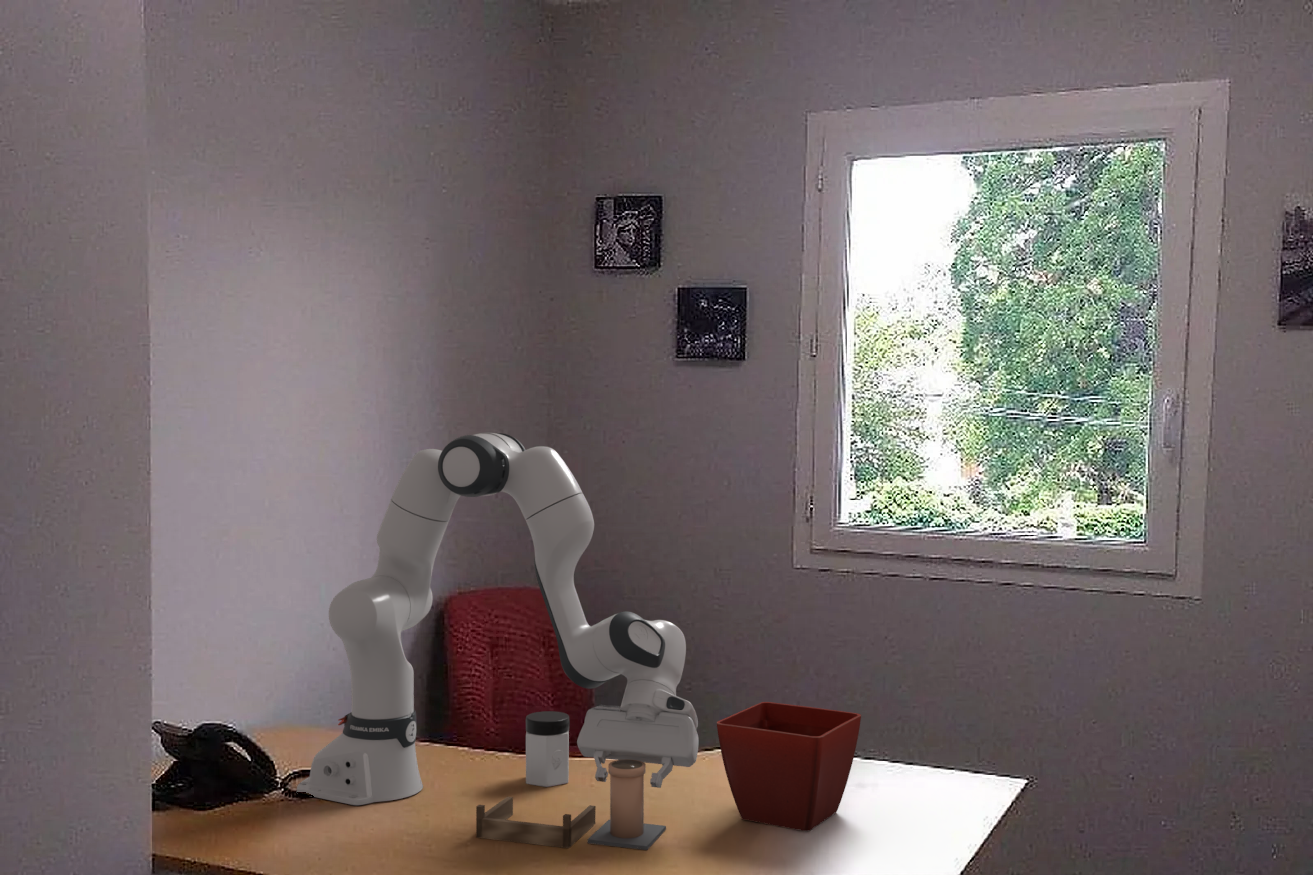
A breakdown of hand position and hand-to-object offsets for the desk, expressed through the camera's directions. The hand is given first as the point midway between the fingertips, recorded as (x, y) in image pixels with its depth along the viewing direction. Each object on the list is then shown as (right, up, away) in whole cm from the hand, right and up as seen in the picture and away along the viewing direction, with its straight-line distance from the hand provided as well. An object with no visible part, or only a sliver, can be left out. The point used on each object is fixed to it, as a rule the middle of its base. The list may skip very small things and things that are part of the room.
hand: (627, 782), depth 194 cm
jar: (-16, -8, +30) cm, 35 cm away
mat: (0, -9, 0) cm, 8 cm away
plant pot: (+27, -9, +10) cm, 30 cm away
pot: (0, -8, 0) cm, 8 cm away
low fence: (-15, -8, +3) cm, 17 cm away
